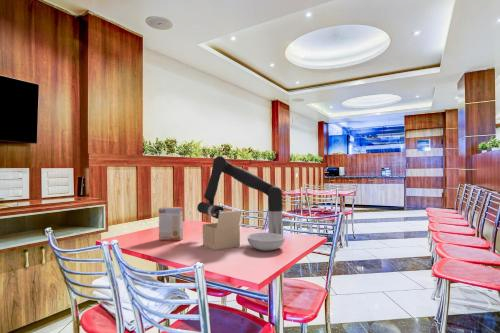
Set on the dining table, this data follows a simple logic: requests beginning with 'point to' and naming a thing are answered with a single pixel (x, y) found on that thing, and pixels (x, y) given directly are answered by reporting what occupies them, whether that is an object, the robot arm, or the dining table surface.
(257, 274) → the dining table surface
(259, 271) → the dining table surface
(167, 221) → the cracker box
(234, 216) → the carton flap
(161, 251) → the dining table surface
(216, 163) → the robot arm
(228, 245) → the carton
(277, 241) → the serving bowl
